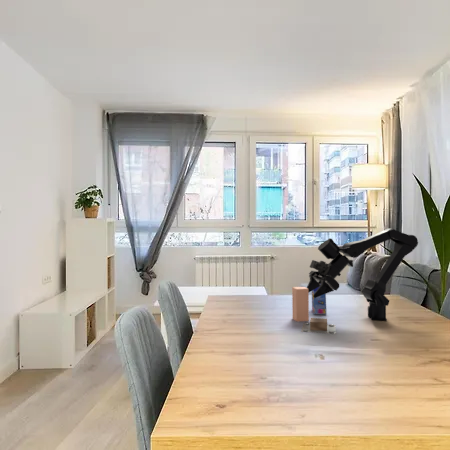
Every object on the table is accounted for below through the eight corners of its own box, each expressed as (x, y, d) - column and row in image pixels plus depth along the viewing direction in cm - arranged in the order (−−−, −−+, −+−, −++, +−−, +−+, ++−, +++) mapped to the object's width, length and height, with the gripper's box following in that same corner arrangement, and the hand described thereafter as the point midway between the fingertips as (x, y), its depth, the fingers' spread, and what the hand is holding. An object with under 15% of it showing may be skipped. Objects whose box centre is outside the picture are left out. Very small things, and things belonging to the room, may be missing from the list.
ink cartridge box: (311, 309, 183) (310, 278, 182) (323, 309, 182) (323, 278, 182) (313, 314, 173) (313, 281, 173) (326, 314, 172) (326, 281, 172)
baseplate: (335, 328, 150) (335, 324, 150) (335, 337, 139) (335, 332, 139) (303, 326, 154) (303, 322, 154) (301, 335, 142) (301, 330, 142)
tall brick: (304, 320, 162) (304, 286, 162) (308, 323, 157) (308, 288, 157) (292, 321, 161) (292, 287, 161) (296, 324, 156) (296, 289, 156)
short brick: (327, 326, 148) (327, 318, 148) (327, 331, 143) (327, 322, 142) (310, 325, 150) (310, 317, 150) (310, 329, 144) (310, 321, 144)
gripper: (313, 251, 170) (288, 277, 168) (331, 255, 151) (304, 284, 150) (330, 269, 171) (306, 295, 169) (351, 275, 153) (323, 304, 151)
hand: (309, 294), depth 160 cm, fingers open, 9 cm apart
